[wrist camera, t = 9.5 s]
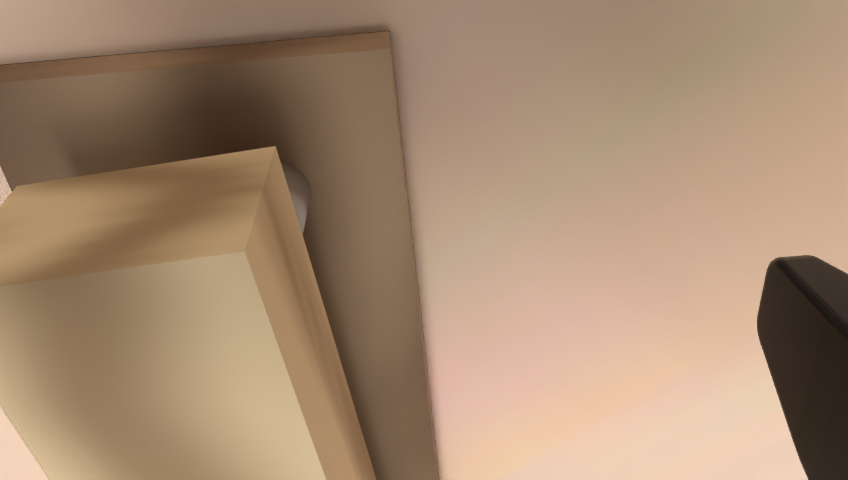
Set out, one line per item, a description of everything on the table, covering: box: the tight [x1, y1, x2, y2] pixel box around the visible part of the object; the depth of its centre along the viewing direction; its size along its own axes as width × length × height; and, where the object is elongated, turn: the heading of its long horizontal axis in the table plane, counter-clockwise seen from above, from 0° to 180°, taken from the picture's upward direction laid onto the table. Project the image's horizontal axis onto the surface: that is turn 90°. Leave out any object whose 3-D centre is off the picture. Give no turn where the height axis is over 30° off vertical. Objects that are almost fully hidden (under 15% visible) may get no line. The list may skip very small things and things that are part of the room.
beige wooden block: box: [0, 146, 376, 480], centre depth 20 cm, size 6×16×4 cm, turn 9°
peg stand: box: [0, 31, 440, 480], centre depth 23 cm, size 10×19×3 cm, turn 5°
